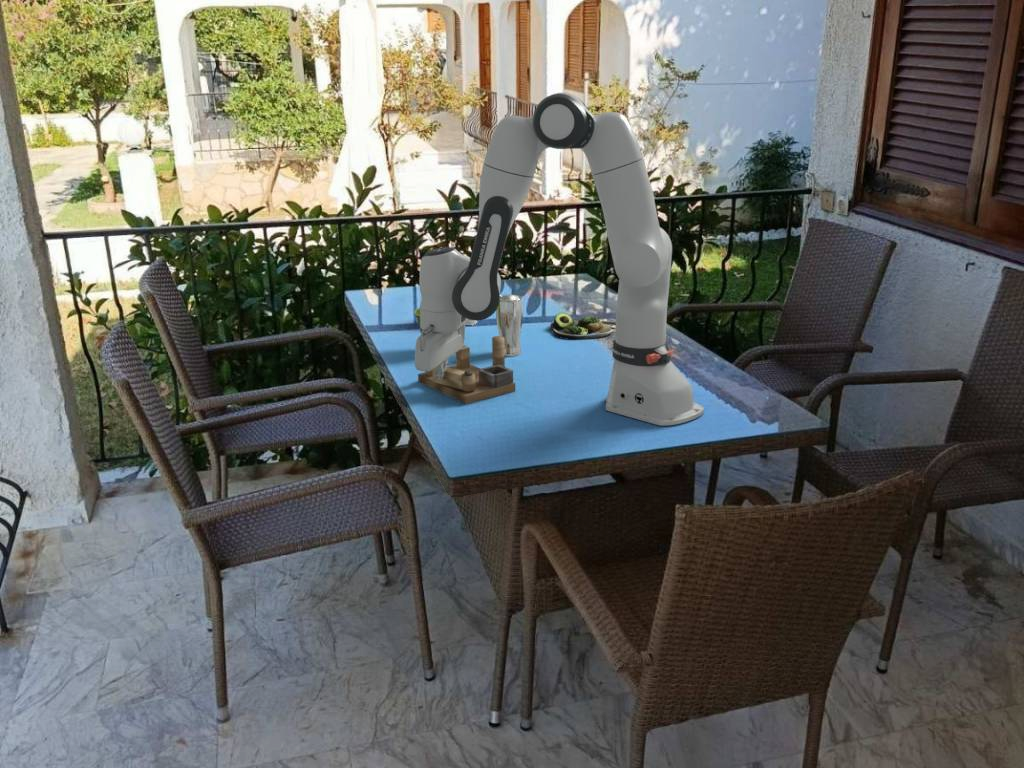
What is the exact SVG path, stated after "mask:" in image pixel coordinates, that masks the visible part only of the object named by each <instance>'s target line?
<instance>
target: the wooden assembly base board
mask: <svg viewBox="0 0 1024 768" xmlns="http://www.w3.org/2000/svg"><path fill="white" fill-rule="evenodd" d="M455 361H456V362H455V364H452V365H448V366H447V367H449V368H453V369H457V370H461V371H472V373H474V374H475V390H474V391H470V392H467V391H463V390H461V389H457V388H454V387H450V386H446V385H443V384H439V383H435V382H433V370H431V371H429V372H428V371H423V372H420V373H418V374H417V379H418V380H417V382H418V383H421V384H423V385H424V386H427V387H428V388H431V389H433V390H435V391H436V392H440V393H441V394H443V395H445V394H446V395H445V396H447V395H448V396H447V397H449V396H450V397H449V398H451V397H452V398H451V399H453V398H454V400H455V401H458V400H459V401H458V402H460V401H461V402H460V403H462V402H463V404H464V403H465V404H464V405H466V404H467V405H470V404H469V403H471V404H474V403H478V402H481V400H482V401H485V400H489V399H492V398H496V397H499V396H498V395H500V396H503V395H507V394H510V392H511V393H514V392H516V382H514V370H513V369H511V368H508V367H506V366H505V367H504V366H501V365H497V366H496V365H494V366H493V365H491V366H487V367H482V368H480V367H478V366H476V365H473V364H471V352H470V347H469V346H467V345H463V348H462V349H461V350H459V351H458V352H456V353H455ZM513 391H514V392H513ZM502 394H503V395H502ZM495 396H496V397H495ZM488 398H489V399H488ZM477 401H478V402H477ZM473 402H474V403H473Z"/></svg>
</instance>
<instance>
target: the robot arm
mask: <svg viewBox="0 0 1024 768" xmlns="http://www.w3.org/2000/svg"><path fill="white" fill-rule="evenodd" d="M548 148H551V149H557V150H569V149H571V150H572V149H574V150H575V149H579V150H582V152H583V153H584V155H585V157H586V159H587V162H588V165H589V168H590V172H591V175H592V179H593V182H594V185H595V188H596V192H597V196H598V199H599V203H600V205H601V210H602V213H603V218H604V222H605V229H606V234H607V238H608V239H607V240H608V244H609V247H610V253H611V258H612V262H613V267H614V271H615V273H616V275H617V277H618V279H619V280H618V290H617V299H616V304H615V305H616V306H615V322H616V325H614V326H615V329H614V330H615V331H614V332H615V333H614V339H613V341H612V348H611V350H612V357H613V365H612V369H611V370H612V371H611V375H610V382H609V388H608V392H607V396H606V398H605V402H606V404H605V410H606V411H608V412H610V413H614V414H617V415H621V416H625V417H628V418H631V419H632V418H633V419H636V420H639V421H643V422H647V423H649V424H653V425H656V426H661V427H665V426H673V425H674V426H675V425H679V424H683V423H687V422H690V421H692V420H695V419H697V418H699V417H700V416H702V415H704V413H705V409H704V407H703V406H702V405H700V404H699V403H696V402H694V391H693V386H692V384H691V382H690V381H689V380H688V379H687V378H686V377H685V376H684V374H682V373H681V371H680V370H679V369H678V367H677V366H676V365H675V364H674V363H673V361H672V356H673V355H675V353H674V352H675V349H671V350H670V349H669V345H668V342H667V339H666V336H667V317H668V316H667V315H668V303H669V295H670V294H669V290H670V281H671V269H672V255H673V243H672V240H671V237H670V236H669V234H668V233H667V232H666V231H665V229H664V228H662V227H661V226H660V221H659V219H658V218H659V217H658V214H657V207H656V202H655V195H654V191H653V188H652V184H651V181H650V178H649V173H648V171H647V167H646V163H645V160H644V156H643V153H642V150H641V147H640V145H639V142H638V139H637V137H636V134H635V132H634V130H633V128H632V126H631V124H630V122H629V119H627V117H626V116H625V115H624V114H622V113H620V112H617V111H607V112H606V111H605V112H603V113H598V114H595V113H591V112H590V111H589V109H588V107H587V106H586V104H585V103H584V101H583V100H581V99H580V98H579V97H577V96H576V95H575V94H571V93H567V92H556V93H553V94H550V95H548V96H546V97H545V98H543V99H542V100H541V101H540V102H539V103H538V104H537V106H536V107H535V109H534V112H533V115H532V116H529V117H527V116H526V117H525V116H522V115H521V116H520V115H509V116H506V117H503V118H502V119H501V120H500V121H499V122H498V124H497V125H496V127H495V128H494V132H493V134H492V136H491V139H490V141H489V144H488V147H487V150H486V153H485V156H484V160H483V165H482V168H481V175H480V180H479V193H478V194H479V197H478V198H479V199H478V200H479V201H478V203H479V204H478V210H479V211H478V224H477V225H478V226H477V231H476V232H477V233H476V235H475V240H474V243H473V248H472V251H471V255H470V257H468V256H466V255H465V254H463V253H461V252H460V251H458V250H457V249H456V248H455V247H452V246H449V247H448V246H443V247H442V246H441V247H437V248H433V249H430V250H428V251H427V252H426V253H425V254H424V255H423V256H422V257H421V259H420V260H421V261H420V265H419V279H418V280H419V282H418V283H419V292H420V295H421V296H420V297H421V300H420V305H419V308H420V327H419V329H420V328H421V329H423V330H422V332H420V335H419V336H418V337H417V338H416V340H415V351H414V352H415V353H414V367H415V368H416V370H417V371H419V372H420V371H421V372H425V371H428V372H429V371H431V370H433V369H434V370H435V372H436V379H443V378H444V377H445V370H446V367H448V366H447V365H448V362H449V361H448V359H449V358H450V357H452V356H454V355H456V352H458V351H459V350H461V349H462V348H463V345H464V344H465V341H466V340H465V338H466V326H465V322H464V321H465V320H466V319H469V320H476V321H477V320H478V321H484V320H486V319H488V318H490V317H491V316H492V315H494V313H496V310H497V308H498V305H499V300H500V296H501V295H500V293H501V288H502V278H501V275H500V273H499V269H500V264H501V261H502V257H503V254H504V253H503V252H504V249H505V245H506V241H507V237H508V235H509V232H510V230H511V228H512V226H513V224H514V222H515V221H516V219H517V217H518V215H519V214H520V211H521V210H522V208H523V206H524V204H525V202H526V200H527V198H528V195H529V192H530V190H531V188H532V184H533V180H534V179H535V178H534V177H535V173H536V170H537V167H538V166H537V165H538V162H539V161H540V160H539V159H540V157H541V155H542V153H543V152H544V151H546V150H547V149H548ZM478 321H477V322H478ZM421 333H422V334H421Z"/></svg>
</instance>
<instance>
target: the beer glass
mask: <svg viewBox="0 0 1024 768" xmlns="http://www.w3.org/2000/svg"><path fill="white" fill-rule="evenodd" d="M523 307H524V305H523V297H522V296H521V295H518V294H502V295H500V300H499V305H498V308H497V310H496V311H495V319H496V326H497V331H498V336H502V337H504V340H505V357H517V356H520V355H521V354H522V348H521V332H522V326H523V321H524V320H523V317H524V309H523Z"/></svg>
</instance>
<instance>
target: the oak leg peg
mask: <svg viewBox="0 0 1024 768" xmlns="http://www.w3.org/2000/svg"><path fill="white" fill-rule="evenodd" d="M491 345H492V346H491V347H492V349H491V351H492V353H491V354H492V357H491V359H492V366H494V365H496V366H497V365H501V366H504V367H506V364H505V363H506V359H505V358H506V356H505V340H504V337H502V336H499V335H497V336H493V337H492V338H491Z"/></svg>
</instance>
